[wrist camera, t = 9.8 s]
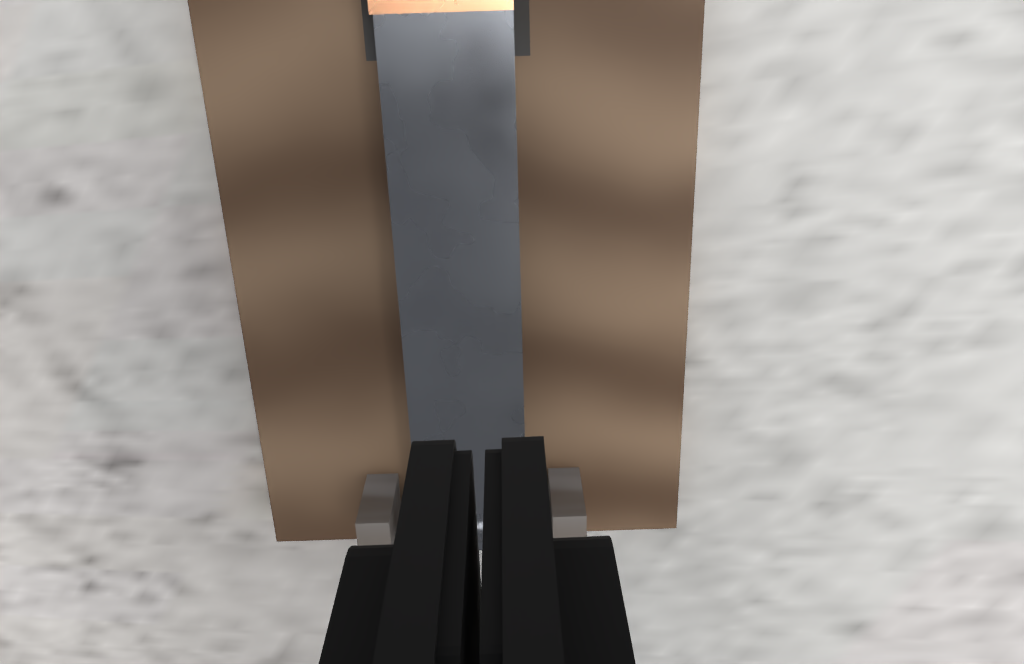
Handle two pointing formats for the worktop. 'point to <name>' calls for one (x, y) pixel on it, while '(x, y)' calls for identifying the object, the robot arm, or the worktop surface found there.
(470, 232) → the strap
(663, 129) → the latch board
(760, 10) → the worktop surface
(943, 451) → the worktop surface
